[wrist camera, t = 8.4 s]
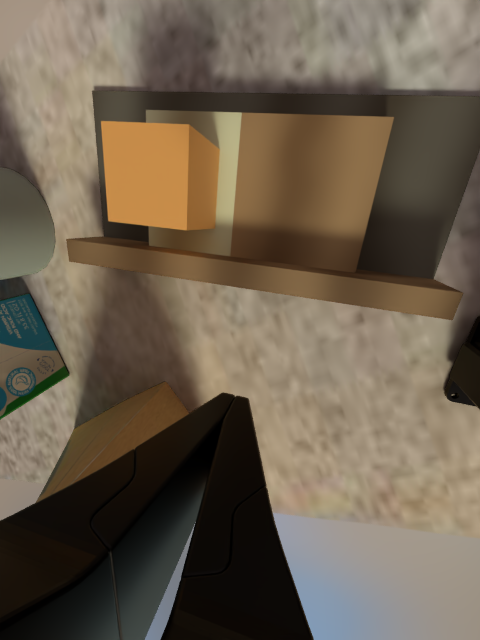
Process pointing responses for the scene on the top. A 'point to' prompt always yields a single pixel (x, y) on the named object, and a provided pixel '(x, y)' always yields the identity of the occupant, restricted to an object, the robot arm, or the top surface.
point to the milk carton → (25, 354)
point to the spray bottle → (23, 227)
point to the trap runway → (308, 195)
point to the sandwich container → (114, 435)
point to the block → (160, 175)
